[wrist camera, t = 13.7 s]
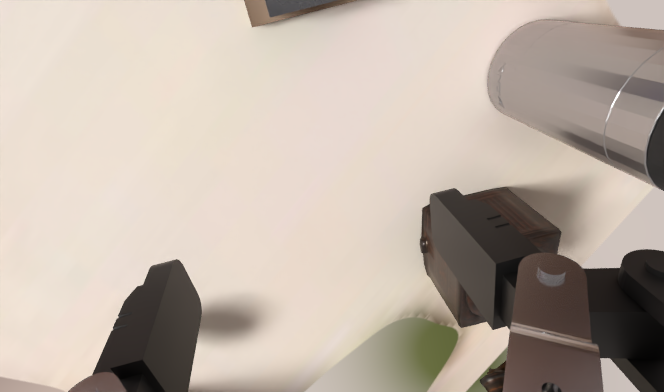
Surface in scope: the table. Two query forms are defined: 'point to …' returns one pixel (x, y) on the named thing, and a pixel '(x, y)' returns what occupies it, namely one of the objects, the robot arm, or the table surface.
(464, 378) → the table surface
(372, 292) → the table surface
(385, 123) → the table surface
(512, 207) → the manual coffee grinder
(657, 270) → the robot arm
